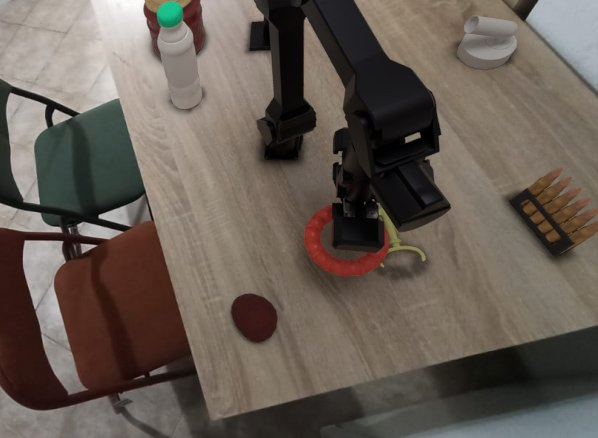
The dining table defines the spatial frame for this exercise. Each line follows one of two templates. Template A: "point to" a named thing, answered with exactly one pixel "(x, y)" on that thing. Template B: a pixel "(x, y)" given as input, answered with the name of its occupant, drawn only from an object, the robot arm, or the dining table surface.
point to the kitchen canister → (190, 17)
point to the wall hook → (487, 42)
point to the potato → (254, 316)
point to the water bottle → (178, 56)
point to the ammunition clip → (555, 213)
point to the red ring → (331, 263)
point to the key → (394, 239)
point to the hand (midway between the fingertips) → (345, 211)
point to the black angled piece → (260, 35)
